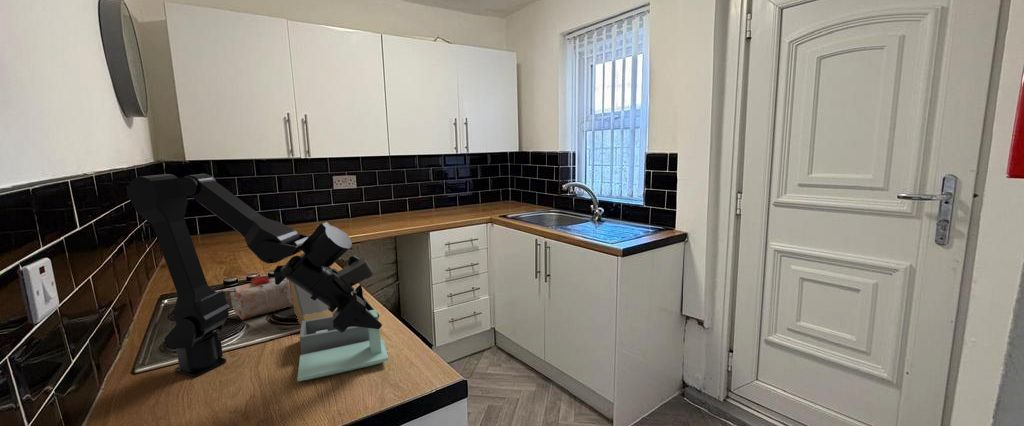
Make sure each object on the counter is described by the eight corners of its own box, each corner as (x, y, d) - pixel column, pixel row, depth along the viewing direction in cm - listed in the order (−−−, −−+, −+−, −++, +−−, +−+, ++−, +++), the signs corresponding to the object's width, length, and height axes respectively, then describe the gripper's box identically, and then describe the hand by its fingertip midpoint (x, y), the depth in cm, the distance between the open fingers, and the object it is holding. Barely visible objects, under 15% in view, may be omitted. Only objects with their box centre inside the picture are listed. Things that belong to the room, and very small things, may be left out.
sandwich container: (306, 335, 100) (299, 275, 98) (293, 315, 112) (287, 260, 110) (343, 325, 105) (338, 267, 103) (327, 306, 117) (322, 254, 115)
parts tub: (301, 357, 90) (299, 337, 89) (303, 339, 98) (301, 320, 97) (380, 342, 96) (378, 323, 95) (376, 326, 104) (374, 309, 104)
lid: (298, 386, 80) (291, 339, 78) (301, 362, 88) (295, 319, 87) (389, 364, 86) (384, 320, 84) (383, 344, 95) (379, 303, 93)
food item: (238, 323, 107) (232, 286, 106) (231, 314, 113) (226, 278, 112) (295, 308, 117) (292, 274, 115) (287, 300, 122) (283, 267, 121)
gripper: (347, 259, 75) (413, 308, 82) (343, 237, 92) (398, 279, 99) (302, 309, 74) (373, 354, 80) (307, 277, 91) (365, 317, 97)
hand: (379, 322), depth 89 cm, fingers open, 5 cm apart
